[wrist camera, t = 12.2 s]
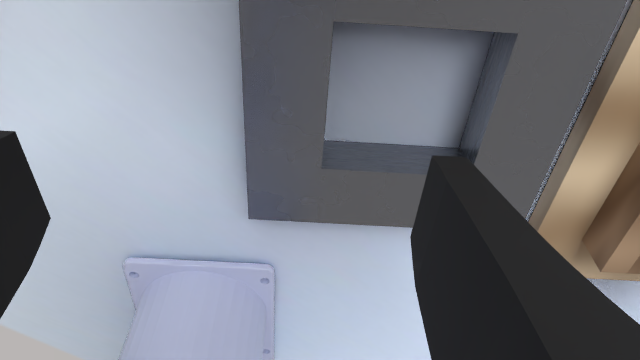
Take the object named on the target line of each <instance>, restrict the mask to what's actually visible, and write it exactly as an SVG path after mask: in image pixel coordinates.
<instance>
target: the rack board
mask: <svg viewBox="0 0 640 360" xmlns="http://www.w3.org/2000/svg"><path fill="white" fill-rule="evenodd" d="M528 223H529V224H530V225H531V226H532V227H533V228H534V229H535V230H536V231H537V232H538V233H539V234H540V235H541V236H542V237H543V238H544V239H545V240H546V241H547V242H548V243H549V244H550V245H551V246H552V247H553V248H554V249H555V250H557V251H558V252H559V253H560V254H561V255H562V256H563V257H564V258H565V259H566V260H567V261H568V262H569V263H570V264H571V265H572V266H573V267H574V268H575V269H577V270H578V271H579V272H580V273H581V274H582V275H583V276H584V277H585V278H590V279H610V280H630V281H640V0H633V2H632V4H631V6H630V9H629V11H628V13H627V15H626V17H625V19H624V21H623V23H622V25H621V28H620V30H619V32H618V34H617V36H616V38H615V40H614V42H613V44H612V47H611V49H610V51H609V53H608V55H607V57H606V59H605V61H604V63H603V65H602V68H601V70H600V72H599V74H598V76H597V78H596V80H595V82H594V84H593V87H592V89H591V91H590V93H589V95H588V97H587V99H586V101H585V103H584V106H583V108H582V110H581V112H580V114H579V116H578V118H577V120H576V122H575V124H574V127H573V129H572V131H571V133H570V135H569V137H568V139H567V141H566V143H565V146H564V148H563V150H562V152H561V154H560V156H559V158H558V160H557V162H556V164H555V167H554V169H553V171H552V173H551V175H550V177H549V179H548V181H547V183H546V186H545V188H544V190H543V192H542V194H541V196H540V198H539V200H538V202H537V205H536V207H535V209H534V211H533V213H532V215H531V217H530V219H529V221H528Z"/></svg>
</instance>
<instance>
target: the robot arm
mask: <svg viewBox="0 0 640 360" xmlns="http://www.w3.org/2000/svg"><path fill="white" fill-rule="evenodd" d="M50 219H51V218H50V215H49V213H48V210H47V208H46V206H45V203H44V201H43V198H42V196H41V193H40V191H39V188H38V186H37V184H36V181H35V179H34V176H33V174H32V171H31V169H30V167H29V164H28V162H27V159H26V157H25V154H24V152H23V149H22V147H21V145H20V142H19V140H18V137H17V135H16V132H15V131H0V318H1V317H2V315H3V313H4V312H5V310H6V308H7V307H8V305H9V303H10V302H11V300H12V298H13V297H14V295H15V293H16V291H17V290H18V288H19V286H20V285H21V283H22V281H23V280H24V278H25V276H26V274H27V273H28V271H29V269H30V267H31V265H32V263H33V260H34V258H35V256H36V253H37V251H38V249H39V247H40V244H41V242H42V239H43V237H44V234H45V231H46V229H47V226H48V224H49V221H50ZM411 248H412V260H413V270H414V279H415V287H416V292H417V297H418V301H419V306H420V311H421V315H422V320H423V324H424V329H425V333H426V337H427V342H428V346H429V351H430V355H431V359H432V360H640V324H638V323H637V322H636V321H635V320H633V319H632V318H631V317H630V316H628V315H627V314H626V313H625V312H624V311H623V310H621V309H620V308H619V307H618V306H617V305H616V304H614V303H613V302H612V301H611V300H610V299H609V298H607V297H606V296H605V295H604V294H603V293H602V292H601V291H600V290H599V289H597V288H596V287H595V286H594V285H593V284H592V283H591V282H590V281H589V280H588V279H586V278H585V277H584V276H583V275H582V274H581V273H580V272H579V271H578V270H577V269H575V268H574V267H573V266H572V265H571V264H570V263H569V262H568V261H567V260H566V259H565V258H564V257H563V256H562V255H561V254H560V253H559V252H558V251H557V250H555V249H554V248H553V247H552V246H551V245H550V244H549V243H548V242H547V241H546V240H545V239H544V238H543V237H542V236H541V235H540V234H539V233H538V232H537V231H536V230H535V229H534V228H533V227H532V226H531V225H530V224H529V223H528V221H527V220H526V219H525V218H524V217H523V216H522V215H521V214H520V213H519V212H518V211H517V210H516V209H515V208H514V207H513V206H512V205H511V204H510V203H509V202H508V201H507V199H506V198H505V197H504V196H503V195H502V194H501V193H500V192H499V191H498V190H497V189H496V188H495V187H494V186H493V185H492V183H491V182H490V181H489V180H488V179H487V178H486V177H485V176H484V175H483V174H482V173H481V172H480V171H479V170H478V169H477V168H476V167H475V165H474V164H473V163H472V162H471V161H470V160H469V159H468V158H466V157H452V156H434V155H432V157H431V161H430V165H429V168H428V172H427V176H426V180H425V184H424V187H423V191H422V195H421V199H420V203H419V206H418V210H417V214H416V218H415V222H414V225H413V229H412V233H411ZM123 270H124V273H125V277H126V280H127V283H128V286H129V290H130V293H131V296H132V300H133V303H134V306H135V309H136V313H135V315H134V318H133V321H132V324H131V326H130V329H129V332H128V335H127V337H126V340H125V343H124V346H123V348H122V351H121V354H120V357H119V359H118V360H274V282H275V270H274V268H273V267H272V266H271V265H269V264H257V263H237V262H216V261H196V260H176V259H155V258H135V257H132V258H127V259H126V260H125V261H124V264H123ZM265 278H266V279H265Z"/></svg>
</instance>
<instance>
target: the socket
mask: <svg viewBox="0 0 640 360" xmlns="http://www.w3.org/2000/svg"><path fill="white" fill-rule="evenodd" d="M626 2H627V0H239V14H240V36H241V59H242V81H243V104H244V126H245V149H246V171H247V194H248V216H249V219H260V220H279V221H298V222H318V223H337V224H356V225H375V226H394V227H413V225H414V222H415V218H416V214H417V210H418V206H419V203H420V199H421V195H422V191H423V187H424V184H425V180H426V176H427V172H428V168H429V165H430V161H431V157H432V155H434V156H452V157H466V158H468V159H469V160H470V161H471V162H472V163H473V164H474V165H475V167H476V168H477V169H478V170H479V171H480V172H481V173H482V174H483V175H484V176H485V177H486V178H487V179H488V180H489V181H490V182H491V183H492V185H493V186H494V187H495V188H496V189H497V190H498V191H499V192H500V193H501V194H502V195H503V196H504V197H505V198H506V199H507V201H508V202H509V203H510V204H511V205H512V206H513V207H514V208H515V209H516V210H517V211H518V212H519V213H520V214H521V215H522V216H523V217H524V218H526V216H527V214H528V212H529V210H530V208H531V206H532V203H533V201H534V199H535V197H536V195H537V193H538V191H539V188H540V186H541V184H542V182H543V180H544V178H545V176H546V173H547V171H548V169H549V167H550V165H551V163H552V161H553V158H554V156H555V154H556V152H557V150H558V148H559V146H560V143H561V141H562V139H563V137H564V135H565V133H566V131H567V128H568V126H569V124H570V122H571V120H572V118H573V116H574V113H575V111H576V109H577V107H578V105H579V103H580V101H581V98H582V96H583V94H584V92H585V90H586V88H587V86H588V83H589V81H590V79H591V77H592V75H593V73H594V71H595V68H596V66H597V64H598V62H599V60H600V58H601V56H602V53H603V51H604V49H605V47H606V45H607V43H608V41H609V38H610V36H611V34H612V32H613V30H614V28H615V26H616V23H617V21H618V19H619V17H620V15H621V13H622V11H623V8H624V6H625V4H626ZM334 21H335V22H351V23H366V24H381V25H396V26H411V27H427V28H442V29H457V30H472V31H487V32H494V35H493V39H492V42H491V45H490V49H489V52H488V55H487V58H486V62H485V65H484V68H483V72H482V75H481V78H480V81H479V85H478V88H477V91H476V95H475V98H474V101H473V104H472V108H471V111H470V114H469V117H468V121H467V124H466V127H465V131H464V134H463V137H462V140H461V144H460V147H459V148H446V147H429V146H412V145H395V144H377V143H360V142H343V141H325V140H324V132H325V120H326V108H327V96H328V84H329V72H330V60H331V48H332V35H333V23H334Z"/></svg>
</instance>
